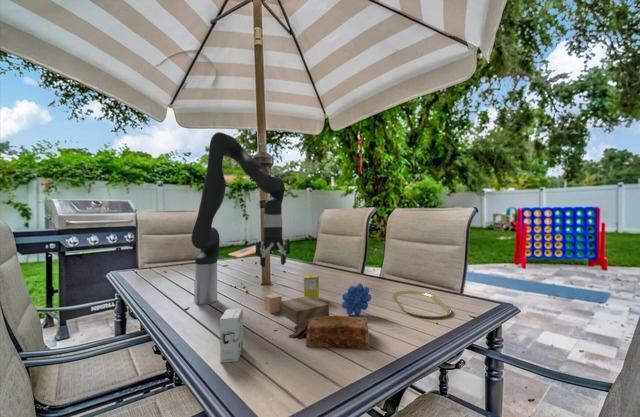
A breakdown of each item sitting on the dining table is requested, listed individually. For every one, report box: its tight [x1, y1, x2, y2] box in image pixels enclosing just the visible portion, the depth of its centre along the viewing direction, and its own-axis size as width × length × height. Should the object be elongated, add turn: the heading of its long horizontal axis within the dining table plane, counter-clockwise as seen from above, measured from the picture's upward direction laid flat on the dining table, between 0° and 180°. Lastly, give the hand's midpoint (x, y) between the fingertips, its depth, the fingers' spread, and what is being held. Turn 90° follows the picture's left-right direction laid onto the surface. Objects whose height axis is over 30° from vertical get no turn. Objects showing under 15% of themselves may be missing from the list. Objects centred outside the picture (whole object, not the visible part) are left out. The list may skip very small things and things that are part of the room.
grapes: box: [341, 283, 372, 315], centre depth 115 cm, size 12×7×12 cm, turn 95°
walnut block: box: [279, 296, 330, 325], centre depth 115 cm, size 14×14×5 cm
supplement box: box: [303, 274, 320, 300], centre depth 134 cm, size 6×6×11 cm
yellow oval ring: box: [392, 290, 452, 320], centre depth 127 cm, size 19×35×2 cm, turn 178°
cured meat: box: [288, 315, 370, 351], centre depth 95 cm, size 18×25×7 cm
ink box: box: [219, 307, 244, 363], centre depth 83 cm, size 8×5×12 cm, turn 6°
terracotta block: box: [264, 292, 283, 314], centre depth 120 cm, size 5×5×6 cm
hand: (273, 265), depth 120 cm, fingers open, 8 cm apart
